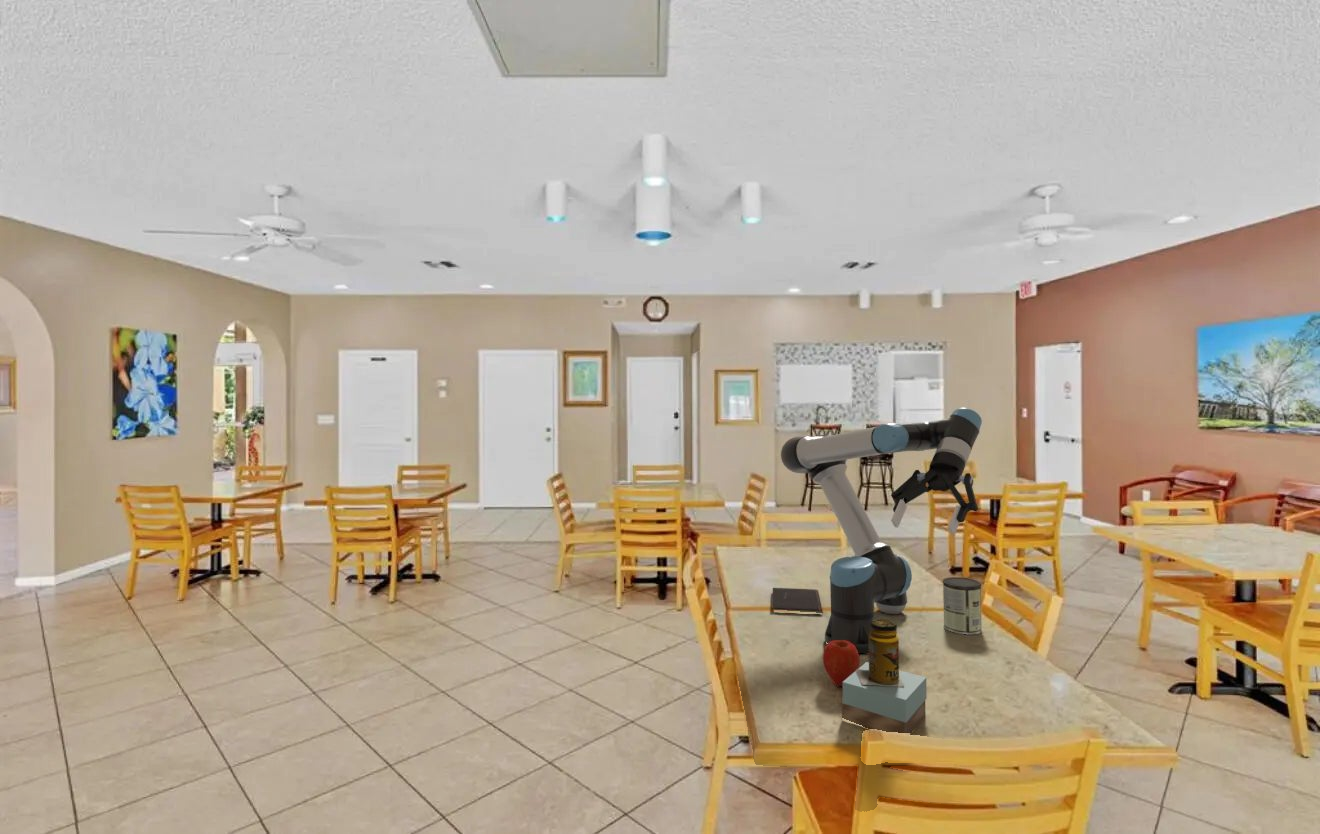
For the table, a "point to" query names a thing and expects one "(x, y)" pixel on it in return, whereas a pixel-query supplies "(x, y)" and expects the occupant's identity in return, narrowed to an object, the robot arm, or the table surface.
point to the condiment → (882, 655)
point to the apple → (840, 660)
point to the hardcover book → (796, 600)
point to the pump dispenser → (893, 604)
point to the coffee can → (962, 605)
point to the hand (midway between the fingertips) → (921, 527)
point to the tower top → (886, 695)
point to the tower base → (882, 719)
